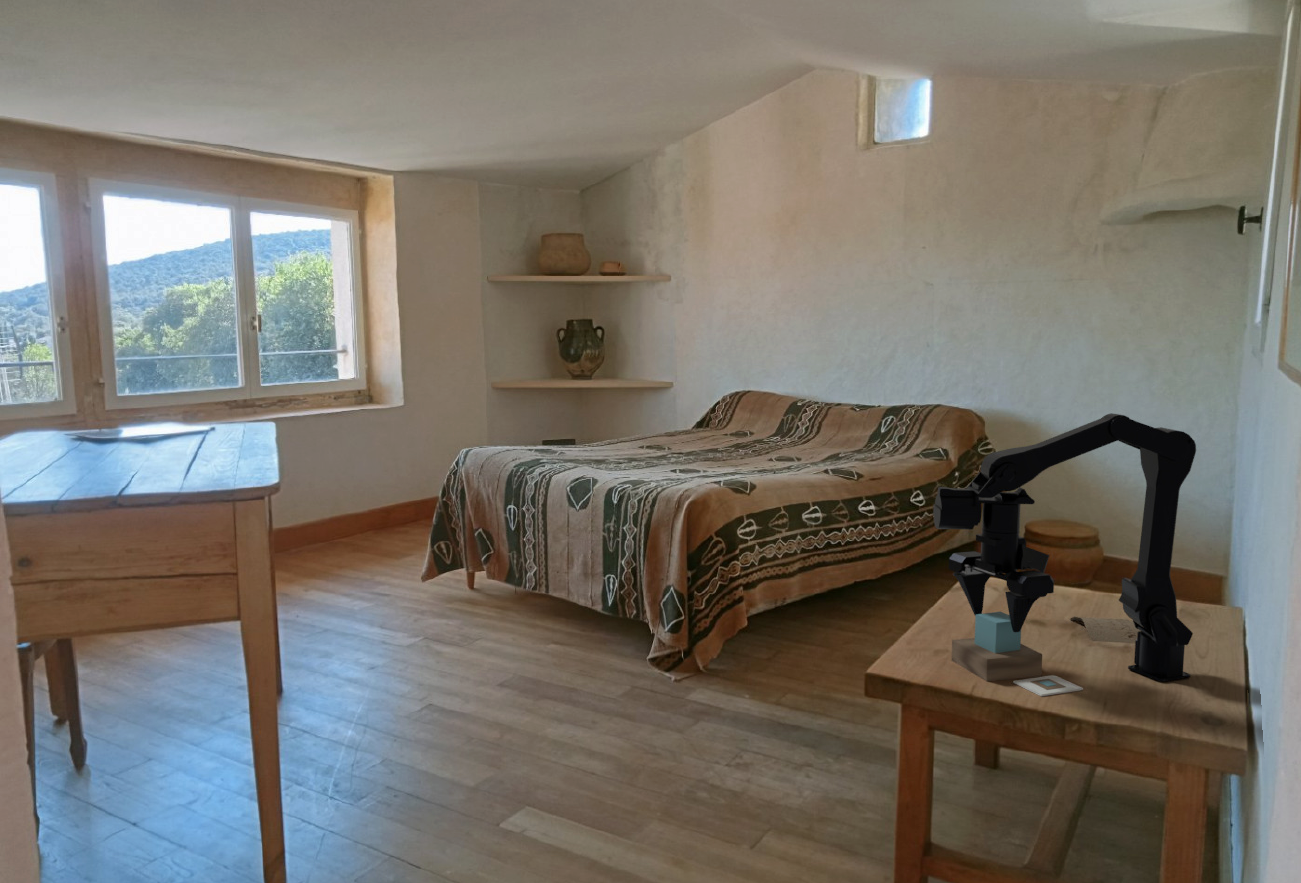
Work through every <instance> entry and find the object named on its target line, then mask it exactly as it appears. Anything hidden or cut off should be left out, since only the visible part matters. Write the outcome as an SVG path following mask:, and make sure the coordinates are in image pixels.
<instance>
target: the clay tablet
mask: <svg viewBox="0 0 1301 883" xmlns="http://www.w3.org/2000/svg"><path fill="white" fill-rule="evenodd" d="M1069 620H1070V621H1072V622H1073V621H1075V622H1083V625H1084V627H1085V629H1086V632H1088V636H1089V638H1090V640H1091V642H1103V643H1106V642H1107V643H1119V644H1120V643H1122V644H1123V643H1124V644H1135V640H1136V639H1137V633H1138V632H1139V631H1140V630H1139V629H1137V628H1135V625H1134V622H1133V620H1132V619H1127V618H1104V617H1103V618H1102V617H1097V618H1096V617H1086V616H1085V617H1080V616H1072V617H1070V618H1069Z"/></svg>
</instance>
